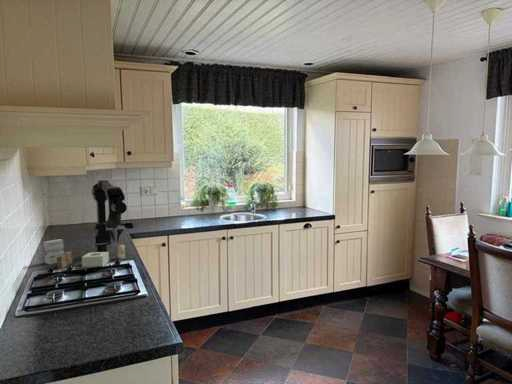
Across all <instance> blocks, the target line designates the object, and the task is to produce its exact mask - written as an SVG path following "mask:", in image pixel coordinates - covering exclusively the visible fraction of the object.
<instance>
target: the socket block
mask: <svg viewBox="0 0 512 384" xmlns="http://www.w3.org/2000/svg"><path fill="white" fill-rule="evenodd" d="M109 254H110V253H109V251H108V252H97V251H96V252H95V251H94V252H93V251H92V252H88V253H86V254H84V255H83V256H81V267H82V268H91V267H92V268H93V267H95V268H96V267H104V266H105V265H106V264H108V262H110V255H109Z"/></svg>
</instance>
